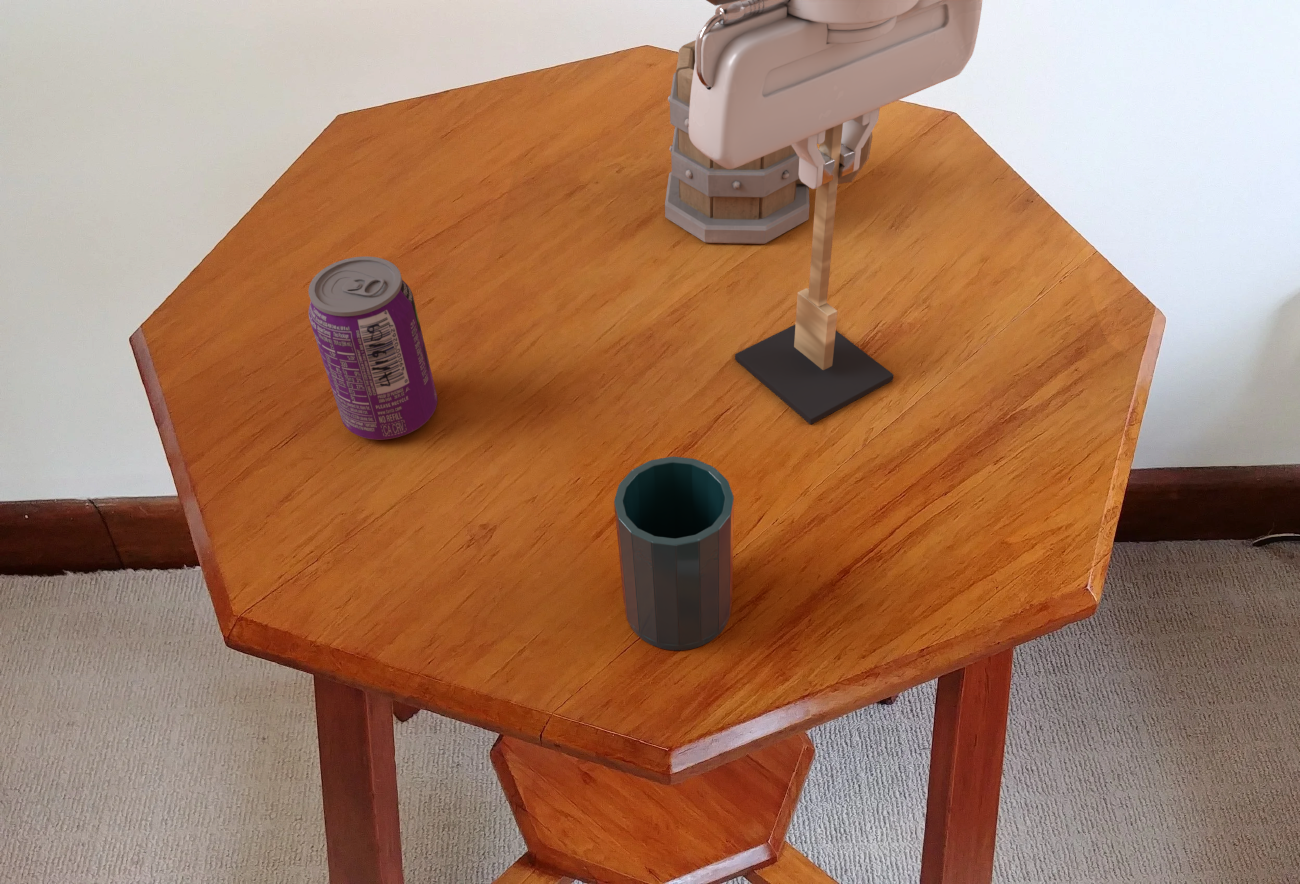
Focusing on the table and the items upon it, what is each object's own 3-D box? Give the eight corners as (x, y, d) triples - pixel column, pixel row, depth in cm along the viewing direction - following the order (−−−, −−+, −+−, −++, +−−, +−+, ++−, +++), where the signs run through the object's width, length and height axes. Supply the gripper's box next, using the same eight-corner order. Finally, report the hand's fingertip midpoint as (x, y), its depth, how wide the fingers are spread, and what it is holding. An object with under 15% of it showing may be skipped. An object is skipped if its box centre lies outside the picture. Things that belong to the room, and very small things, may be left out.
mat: (893, 380, 84) (894, 374, 83) (810, 425, 81) (811, 419, 80) (814, 320, 89) (815, 314, 89) (734, 359, 86) (734, 353, 86)
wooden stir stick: (832, 365, 83) (856, 121, 69) (823, 370, 83) (845, 125, 69) (802, 342, 85) (820, 100, 71) (793, 347, 85) (809, 104, 71)
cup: (752, 616, 69) (757, 508, 62) (664, 669, 67) (658, 563, 60) (690, 549, 73) (687, 440, 66) (605, 597, 71) (592, 489, 63)
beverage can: (453, 388, 85) (424, 258, 77) (417, 453, 80) (382, 323, 72) (367, 375, 87) (329, 246, 78) (326, 439, 82) (282, 309, 73)
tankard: (662, 244, 97) (656, 82, 87) (672, 166, 106) (667, 11, 95) (896, 247, 95) (918, 83, 85) (886, 168, 104) (905, 10, 94)
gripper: (732, 34, 57) (730, 256, 67) (1014, -67, 65) (975, 146, 75) (662, -6, 61) (670, 210, 71) (936, -97, 69) (908, 109, 79)
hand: (828, 176), depth 73 cm, fingers closed on wooden stir stick, 1 cm apart
